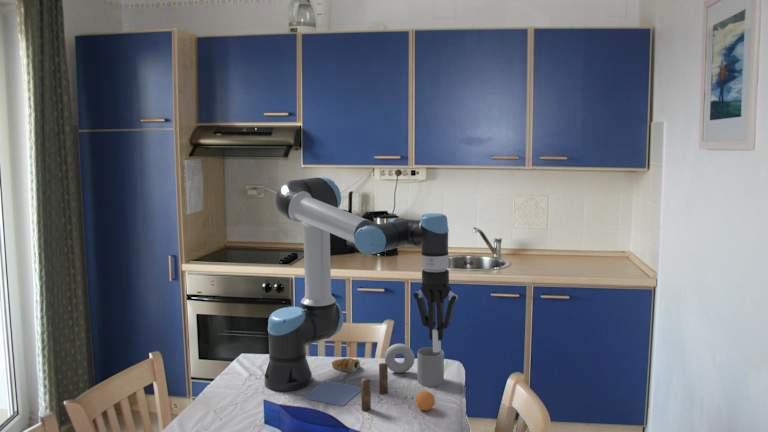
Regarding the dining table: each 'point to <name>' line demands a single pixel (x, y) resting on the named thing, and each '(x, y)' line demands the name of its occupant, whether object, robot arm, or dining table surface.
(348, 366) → the pastry
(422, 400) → the ball
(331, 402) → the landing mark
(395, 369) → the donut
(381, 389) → the post
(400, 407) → the dining table surface
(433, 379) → the cup
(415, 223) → the robot arm
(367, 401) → the post
